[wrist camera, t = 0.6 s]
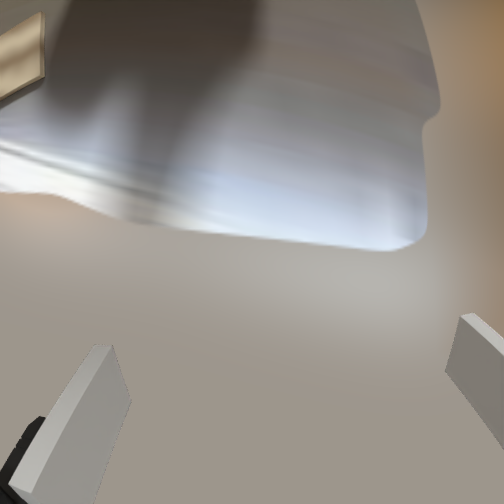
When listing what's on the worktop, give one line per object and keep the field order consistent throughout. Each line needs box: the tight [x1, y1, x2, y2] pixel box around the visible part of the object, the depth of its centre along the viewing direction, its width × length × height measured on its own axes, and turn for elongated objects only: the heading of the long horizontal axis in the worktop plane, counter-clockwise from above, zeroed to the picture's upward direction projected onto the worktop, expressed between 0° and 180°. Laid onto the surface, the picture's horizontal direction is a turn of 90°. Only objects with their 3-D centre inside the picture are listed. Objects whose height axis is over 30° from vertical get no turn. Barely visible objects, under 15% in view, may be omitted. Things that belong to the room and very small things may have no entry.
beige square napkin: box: [0, 11, 45, 101], centre depth 28 cm, size 11×11×1 cm
